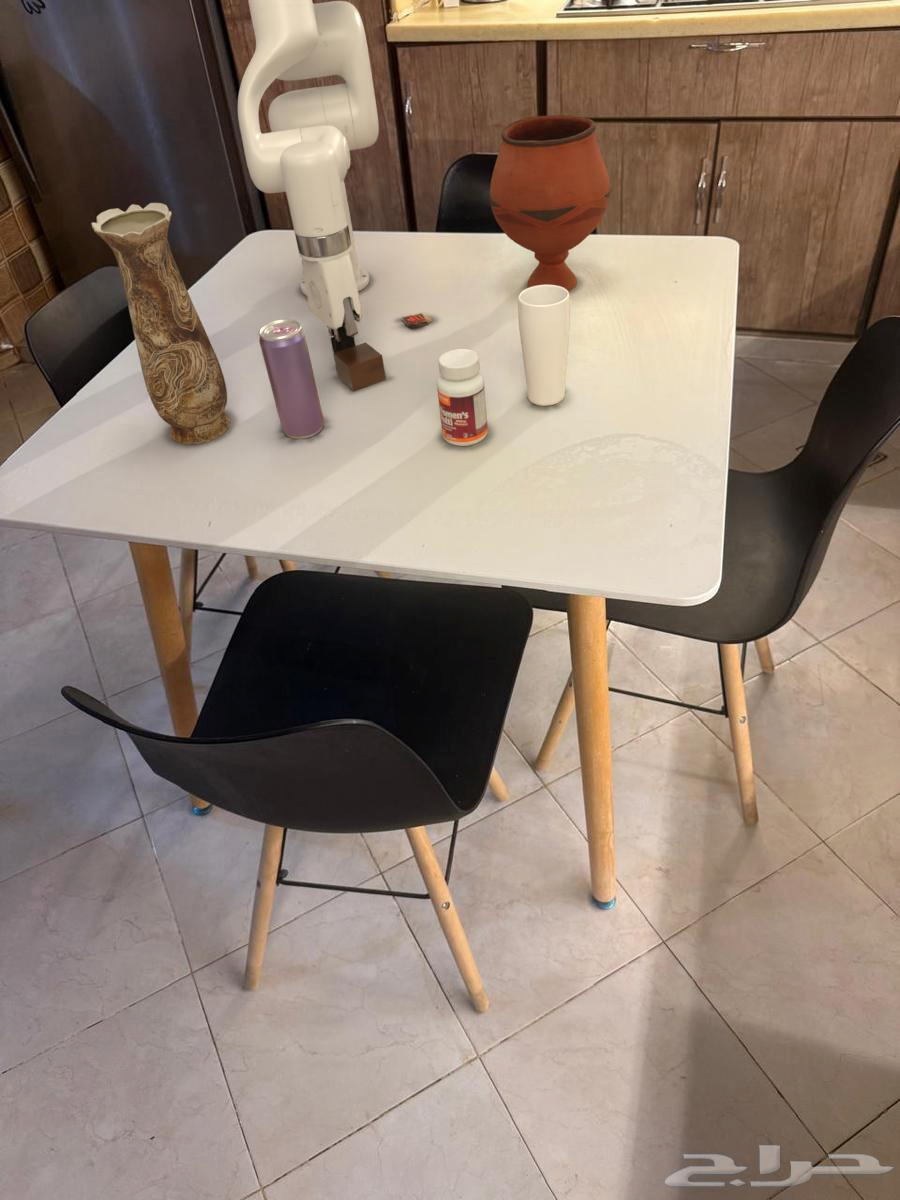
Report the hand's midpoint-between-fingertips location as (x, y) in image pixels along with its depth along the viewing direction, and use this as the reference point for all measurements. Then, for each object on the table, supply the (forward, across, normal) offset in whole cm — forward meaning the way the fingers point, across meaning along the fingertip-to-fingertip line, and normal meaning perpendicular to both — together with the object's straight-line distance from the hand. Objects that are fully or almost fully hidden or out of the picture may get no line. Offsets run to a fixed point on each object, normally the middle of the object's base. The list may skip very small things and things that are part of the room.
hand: (346, 360), depth 135 cm
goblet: (+1, -3, +41) cm, 41 cm away
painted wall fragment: (+1, -6, +16) cm, 17 cm away
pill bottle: (+1, +29, +4) cm, 29 cm away
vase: (+1, +3, -25) cm, 25 cm away
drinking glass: (+1, +28, +18) cm, 33 cm away
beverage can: (+1, +13, -13) cm, 18 cm away
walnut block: (+1, +5, 0) cm, 5 cm away
